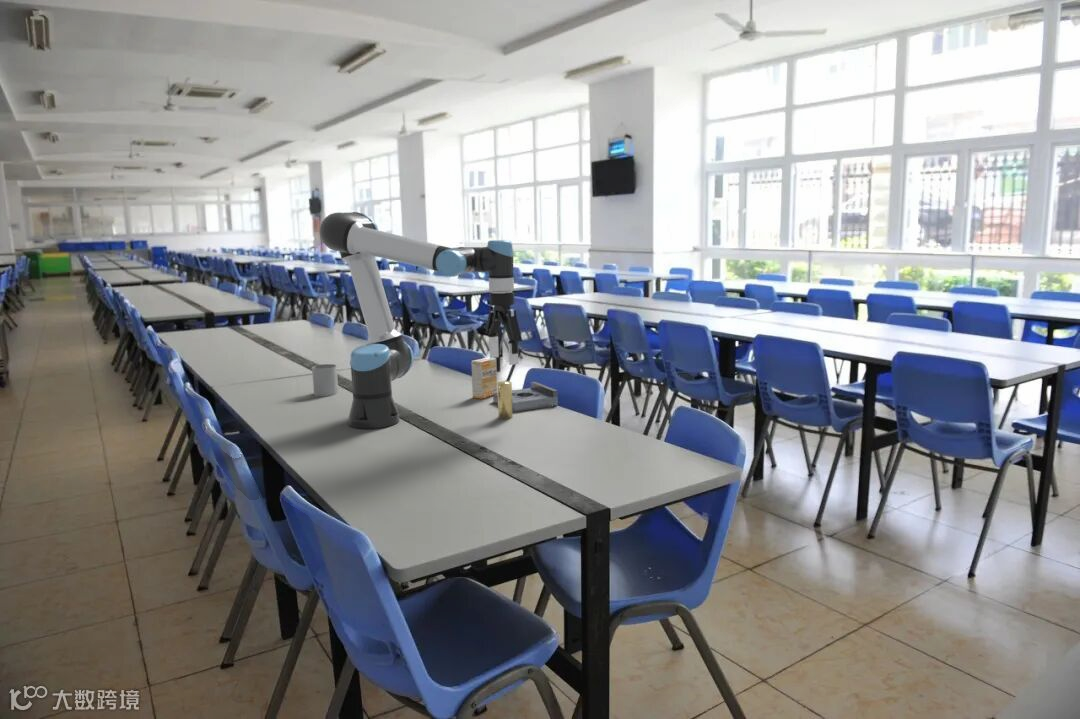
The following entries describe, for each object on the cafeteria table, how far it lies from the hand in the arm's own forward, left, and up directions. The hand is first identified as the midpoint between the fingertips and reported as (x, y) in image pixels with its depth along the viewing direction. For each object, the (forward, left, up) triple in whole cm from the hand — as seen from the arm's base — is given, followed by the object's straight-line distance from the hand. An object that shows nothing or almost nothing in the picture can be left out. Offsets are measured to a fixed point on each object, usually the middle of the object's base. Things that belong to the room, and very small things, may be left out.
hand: (503, 360), depth 230 cm
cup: (-41, +64, -18) cm, 78 cm away
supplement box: (+6, +29, -18) cm, 34 cm away
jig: (+13, +12, -18) cm, 25 cm away
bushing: (0, 0, -18) cm, 18 cm away
